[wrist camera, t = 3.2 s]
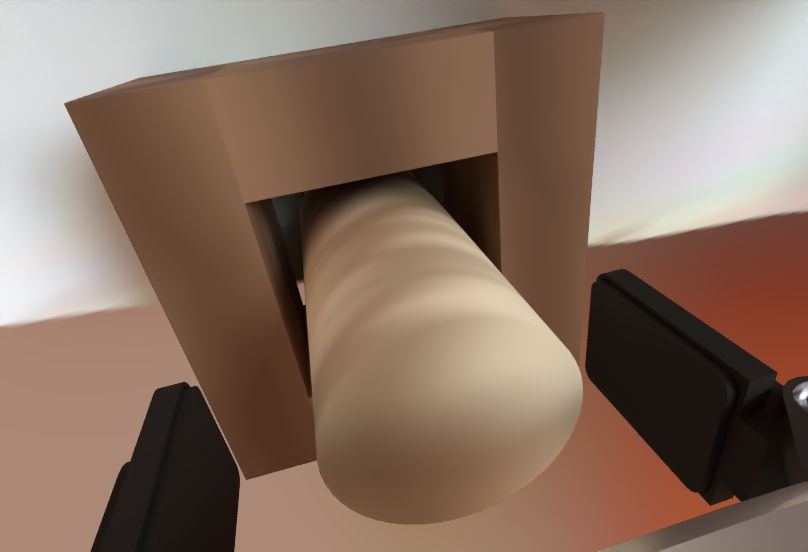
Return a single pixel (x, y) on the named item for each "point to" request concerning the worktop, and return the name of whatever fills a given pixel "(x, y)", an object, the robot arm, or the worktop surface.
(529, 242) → the walnut holder
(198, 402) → the robot arm
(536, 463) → the maple plug
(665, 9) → the worktop surface
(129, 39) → the worktop surface
